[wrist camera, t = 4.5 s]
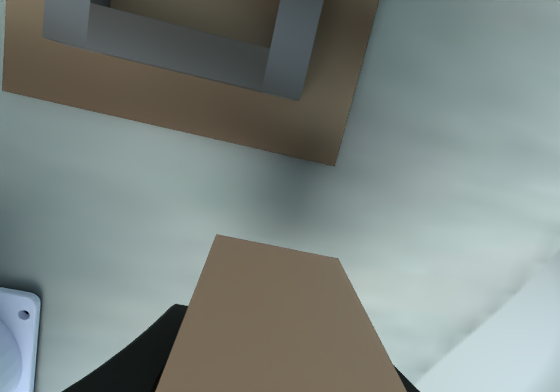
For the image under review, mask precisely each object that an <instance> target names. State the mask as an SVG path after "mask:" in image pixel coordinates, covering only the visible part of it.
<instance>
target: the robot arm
mask: <svg viewBox="0 0 560 392" xmlns="http://www.w3.org/2000/svg"><path fill="white" fill-rule="evenodd" d="M40 304H41V303H40V299H39V297H38V296H37V295H35V294H34V293H31V292H25V291H20V290H14V289H8V288H3V287H0V392H33V390H34V378H35V365H36V353H37V341H38V329H39V316H40ZM187 309H188V306H185V305H179V304H175V305H173V306H171V307H170V308H169V309H168V310H167V311H166V312H165V313H164V314H163V315H162V316H161V317H160V318H159V319H158V320H157V321H156V322H155V323H154V324H152V325H151V326H150V327H149V328H148V329H147V330H146V331H145V332H143V333H142V334H141V335H140V336H139V337H137V338H136V339H135V340H134V341H133V342H131V343H130V344H129V345H128V346H127V347H125V348H124V349H123V350H121V351H120V352H119V353H117V354H116V355H115V356H113V357H112V358H111V359H109V360H108V361H107V362H105V363H104V364H103V365H101V366H100V367H99V368H97V369H96V370H94V371H93V372H91V373H90V374H88V375H87V376H85V377H84V378H82V379H81V380H79V381H78V382H76V383H75V384H73V385H71V386H70V387H68V388H67V389H65V390H64V391H62V392H155V391H156V389H157V386H158V384H159V381H160V378H161V376H162V373H163V371H164V368H165V366H166V363H167V360H168V358H169V355H170V353H171V350H172V348H173V345H174V342H175V340H176V337H177V335H178V332H179V329H180V327H181V324H182V322H183V319H184V317H185V314H186V311H187ZM24 310H25V311H28V313H29V314H30V315H27V314H26V313H25V312H24ZM393 366H394V365H393ZM394 368H395V370H396V372H397V373H398V375H399V377H400V379H401V381H402V383H403V385H404V387H405V389H406V391H407V392H420V391H419V390H418V389H416V387H415V386H414V385H413V384H412V383H411V382H410V381H409V380H408V379H407V378H406V377H405V376H404V375H403V374H402V373H401V372H400V371H399V370H398V369H397V368H396V367H395V366H394Z"/></svg>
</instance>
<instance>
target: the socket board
mask: <svg viewBox="0 0 560 392" xmlns="http://www.w3.org/2000/svg"><path fill="white" fill-rule="evenodd" d="M378 3H379V0H6V16H5V38H4V59H3V81H2V91H6V92H10V93H15V94H19V95H23V96H28V97H32V98H37V99H41V100H45V101H50V102H54V103H59V104H63V105H68V106H72V107H76V108H81V109H85V110H90V111H94V112H98V113H103V114H107V115H112V116H116V117H120V118H125V119H129V120H134V121H138V122H142V123H147V124H151V125H156V126H160V127H164V128H169V129H173V130H178V131H182V132H186V133H191V134H195V135H200V136H204V137H209V138H213V139H217V140H222V141H226V142H231V143H235V144H239V145H244V146H248V147H253V148H257V149H261V150H266V151H270V152H275V153H279V154H283V155H288V156H292V157H297V158H301V159H305V160H310V161H314V162H319V163H323V164H327V165H332V166H335V163H336V159H337V156H338V152H339V148H340V144H341V141H342V137H343V133H344V130H345V126H346V122H347V118H348V115H349V111H350V107H351V104H352V100H353V96H354V92H355V89H356V85H357V81H358V77H359V74H360V70H361V66H362V63H363V59H364V55H365V51H366V48H367V44H368V40H369V37H370V33H371V29H372V25H373V22H374V18H375V14H376V11H377V7H378Z"/></svg>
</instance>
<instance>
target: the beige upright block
mask: <svg viewBox="0 0 560 392" xmlns="http://www.w3.org/2000/svg"><path fill="white" fill-rule="evenodd" d="M155 392H407V391H406V389H405V387H404V385H403V383H402V381H401V379H400V377H399V375H398V373H397V372H396V370H395V368H394V366H393V364H392V362H391V360H390V358H389V356H388V354H387V352H386V350H385V348H384V346H383V344H382V342H381V341H380V339H379V337H378V335H377V333H376V331H375V329H374V327H373V325H372V323H371V321H370V319H369V317H368V315H367V313H366V311H365V310H364V308H363V306H362V304H361V302H360V300H359V298H358V296H357V294H356V292H355V290H354V288H353V286H352V284H351V282H350V280H349V279H348V277H347V275H346V273H345V271H344V269H343V267H342V265H341V263H340V261H339V259H338V258H333V257H327V256H322V255H317V254H312V253H307V252H302V251H297V250H292V249H287V248H282V247H277V246H272V245H267V244H262V243H257V242H252V241H247V240H242V239H237V238H232V237H227V236H222V235H217V234H216V237H215V239H214V242H213V244H212V247H211V250H210V252H209V255H208V257H207V260H206V262H205V265H204V268H203V270H202V273H201V275H200V278H199V281H198V283H197V286H196V288H195V291H194V293H193V296H192V299H191V301H190V304H189V306H188V309H187V311H186V314H185V317H184V319H183V322H182V324H181V327H180V329H179V332H178V335H177V337H176V340H175V342H174V345H173V348H172V350H171V353H170V355H169V358H168V360H167V363H166V366H165V368H164V371H163V373H162V376H161V378H160V381H159V384H158V386H157V389H156V391H155Z"/></svg>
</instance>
